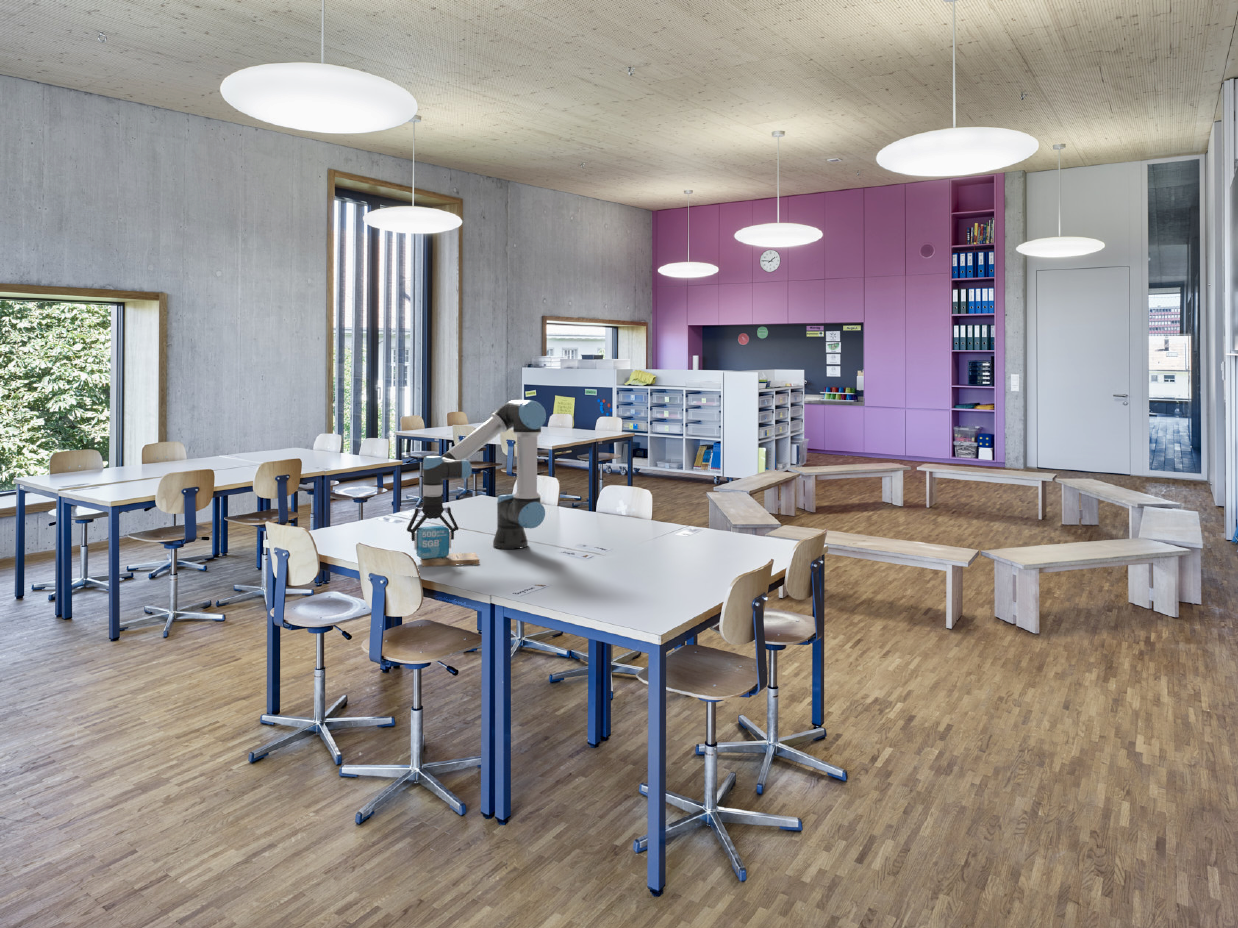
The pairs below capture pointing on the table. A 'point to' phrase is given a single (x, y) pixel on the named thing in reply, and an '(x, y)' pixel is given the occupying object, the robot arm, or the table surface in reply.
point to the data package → (432, 542)
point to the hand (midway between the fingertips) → (432, 548)
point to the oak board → (452, 559)
